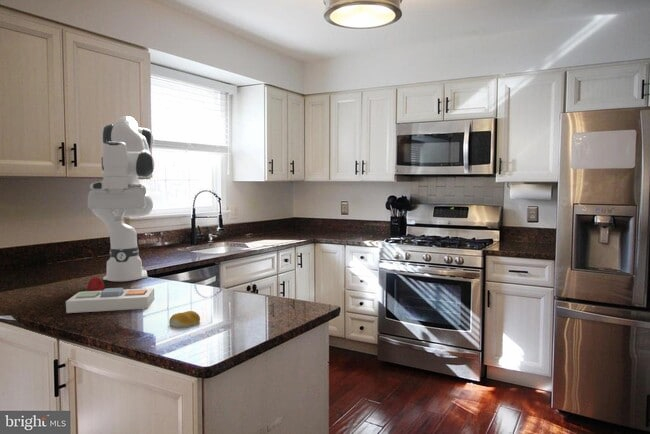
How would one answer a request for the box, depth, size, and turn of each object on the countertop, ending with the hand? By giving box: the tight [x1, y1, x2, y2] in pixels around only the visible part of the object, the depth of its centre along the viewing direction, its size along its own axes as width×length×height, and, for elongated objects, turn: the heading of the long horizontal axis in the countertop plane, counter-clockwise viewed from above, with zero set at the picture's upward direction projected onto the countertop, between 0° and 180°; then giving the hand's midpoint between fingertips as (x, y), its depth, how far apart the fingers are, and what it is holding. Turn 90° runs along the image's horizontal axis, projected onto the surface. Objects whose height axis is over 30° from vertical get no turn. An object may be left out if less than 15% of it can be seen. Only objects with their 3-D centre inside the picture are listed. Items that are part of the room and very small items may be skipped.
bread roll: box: [168, 310, 201, 329], centre depth 144 cm, size 8×9×4 cm
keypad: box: [65, 287, 155, 314], centre depth 166 cm, size 14×26×4 cm, turn 101°
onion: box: [86, 274, 105, 291], centre depth 180 cm, size 6×6×8 cm
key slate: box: [101, 287, 124, 297], centre depth 166 cm, size 6×6×3 cm
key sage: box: [76, 291, 100, 298], centre depth 164 cm, size 6×6×3 cm
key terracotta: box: [125, 288, 147, 296], centre depth 167 cm, size 6×6×3 cm
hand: (118, 221), depth 177 cm, fingers closed
